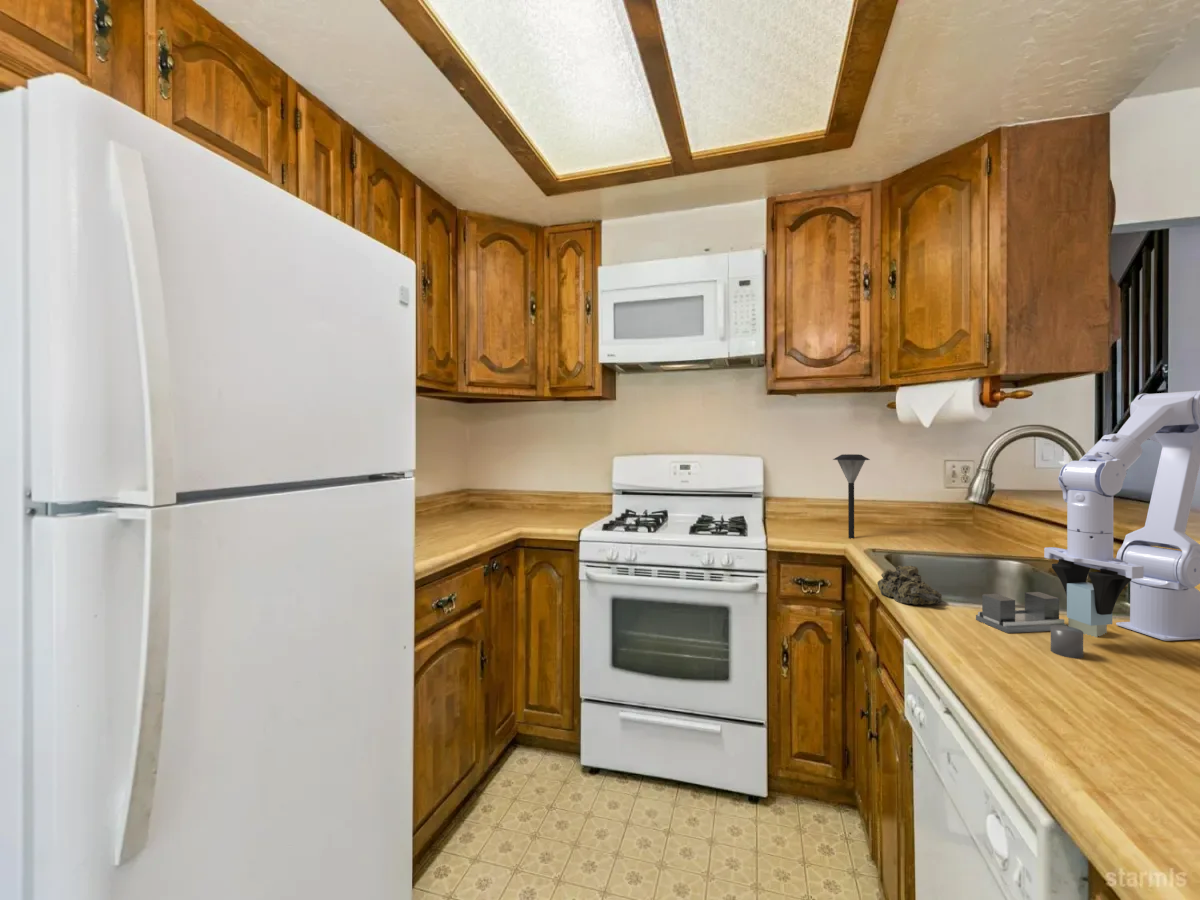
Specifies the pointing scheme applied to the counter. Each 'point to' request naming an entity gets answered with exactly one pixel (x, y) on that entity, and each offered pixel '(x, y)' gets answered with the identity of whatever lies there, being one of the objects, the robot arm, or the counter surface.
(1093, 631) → the block
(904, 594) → the rock
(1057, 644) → the grey rounded cylinder
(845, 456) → the solar garden light
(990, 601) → the rail base
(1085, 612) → the block
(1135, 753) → the counter surface
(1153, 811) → the counter surface
